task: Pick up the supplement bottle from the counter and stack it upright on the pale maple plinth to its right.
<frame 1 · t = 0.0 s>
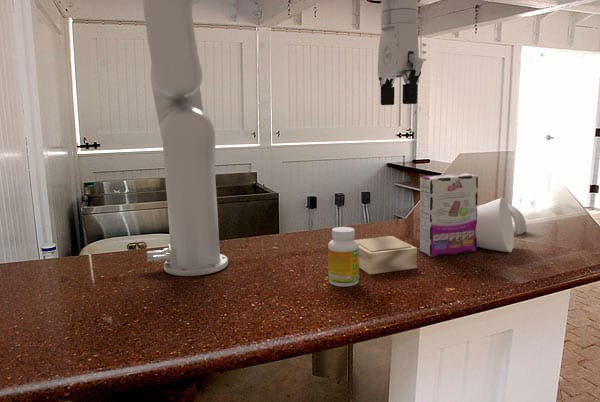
hand: (398, 104, 105), 31 cm above the countertop, fingers open, 9 cm apart
spoon rest: (476, 228, 125), on the countertop
supplement bottle: (343, 283, 86), on the countertop
rocket engine: (469, 245, 108), on the countertop, touching candy bar box
candy bar box: (447, 252, 103), on the countertop, touching rocket engine
plinth: (381, 263, 96), on the countertop
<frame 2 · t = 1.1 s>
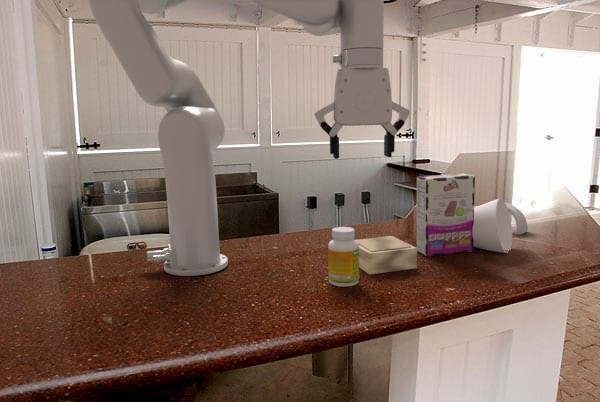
hand: (362, 157, 89), 22 cm above the countertop, fingers open, 9 cm apart
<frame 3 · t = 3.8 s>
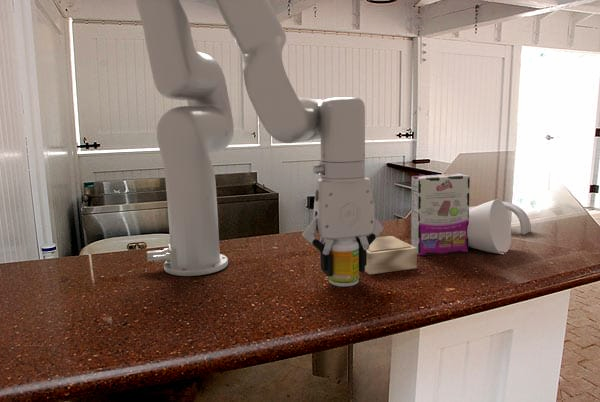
hand: (343, 271, 86), 2 cm above the countertop, fingers closed on supplement bottle, 5 cm apart
supplement bottle: (343, 283, 86), on the countertop, touching gripper
candy bar box: (438, 251, 104), on the countertop, touching rocket engine
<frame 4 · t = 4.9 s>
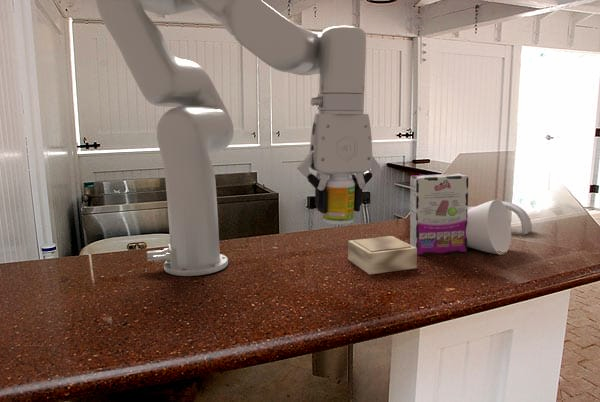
hand: (338, 209, 84), 13 cm above the countertop, fingers closed on supplement bottle, 5 cm apart
supplement bottle: (338, 222, 85), point 11 cm above the countertop, touching gripper
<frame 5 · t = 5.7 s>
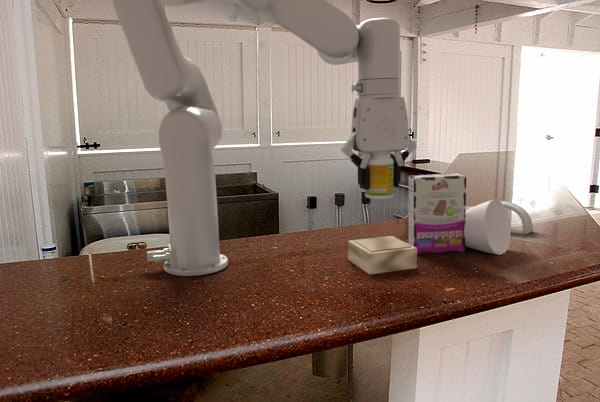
hand: (379, 186, 92), 16 cm above the countertop, fingers closed on supplement bottle, 5 cm apart
supplement bottle: (379, 197, 93), point 14 cm above the countertop, touching gripper
when the fingers open (7 cm above the countertop, at t = 7.9 s): supplement bottle stays where it is, resting on plinth.
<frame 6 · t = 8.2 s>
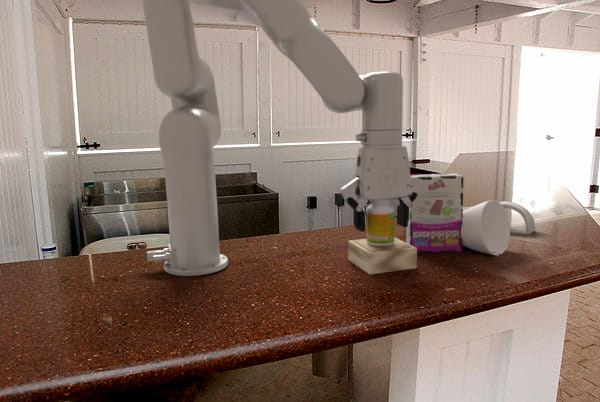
hand: (381, 227, 95), 7 cm above the countertop, fingers open, 8 cm apart
supplement bottle: (380, 244, 95), point 4 cm above the countertop, touching plinth
candy bar box: (432, 250, 105), on the countertop, touching rocket engine
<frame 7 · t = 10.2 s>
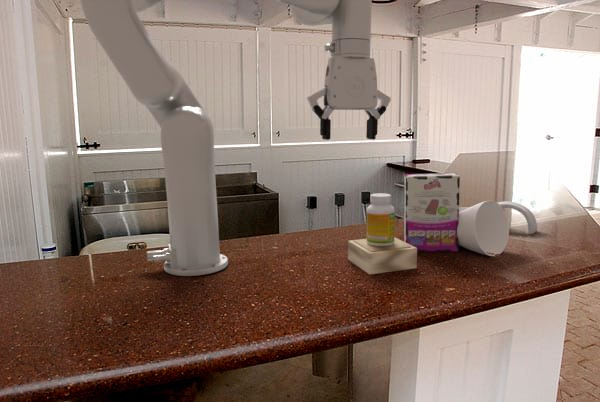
hand: (348, 139, 98), 24 cm above the countertop, fingers open, 9 cm apart
candy bar box: (429, 249, 106), on the countertop, touching rocket engine
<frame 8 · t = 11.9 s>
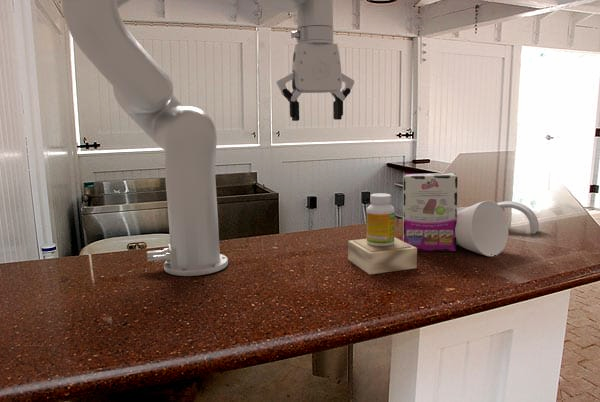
hand: (316, 120, 105), 28 cm above the countertop, fingers open, 9 cm apart
at the end: supplement bottle inside the target area on the plinth (0.2 cm from its centre), point 4.0 cm above the plinth's base; supplement bottle tilted 0°; the gripper is holding nothing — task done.
